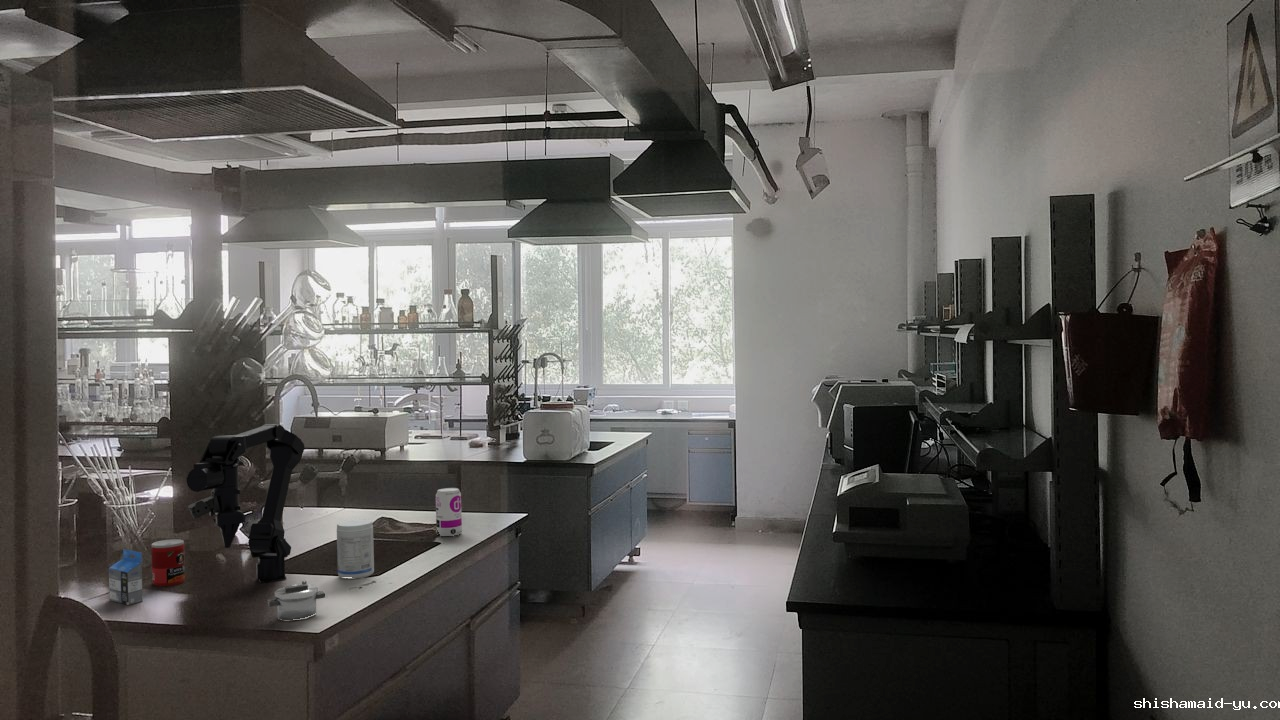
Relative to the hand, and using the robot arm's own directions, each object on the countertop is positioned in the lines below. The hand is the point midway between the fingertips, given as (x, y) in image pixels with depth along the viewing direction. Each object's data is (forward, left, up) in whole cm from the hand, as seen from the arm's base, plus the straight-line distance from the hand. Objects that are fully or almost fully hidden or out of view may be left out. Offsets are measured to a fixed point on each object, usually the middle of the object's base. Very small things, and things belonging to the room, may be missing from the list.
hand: (227, 547), depth 214 cm
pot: (-12, +26, -13) cm, 32 cm away
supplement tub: (-32, -2, -13) cm, 34 cm away
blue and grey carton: (+22, -12, -13) cm, 28 cm away
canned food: (+12, -25, -13) cm, 31 cm away
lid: (-12, +26, -8) cm, 30 cm away
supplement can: (-70, -36, -13) cm, 80 cm away
